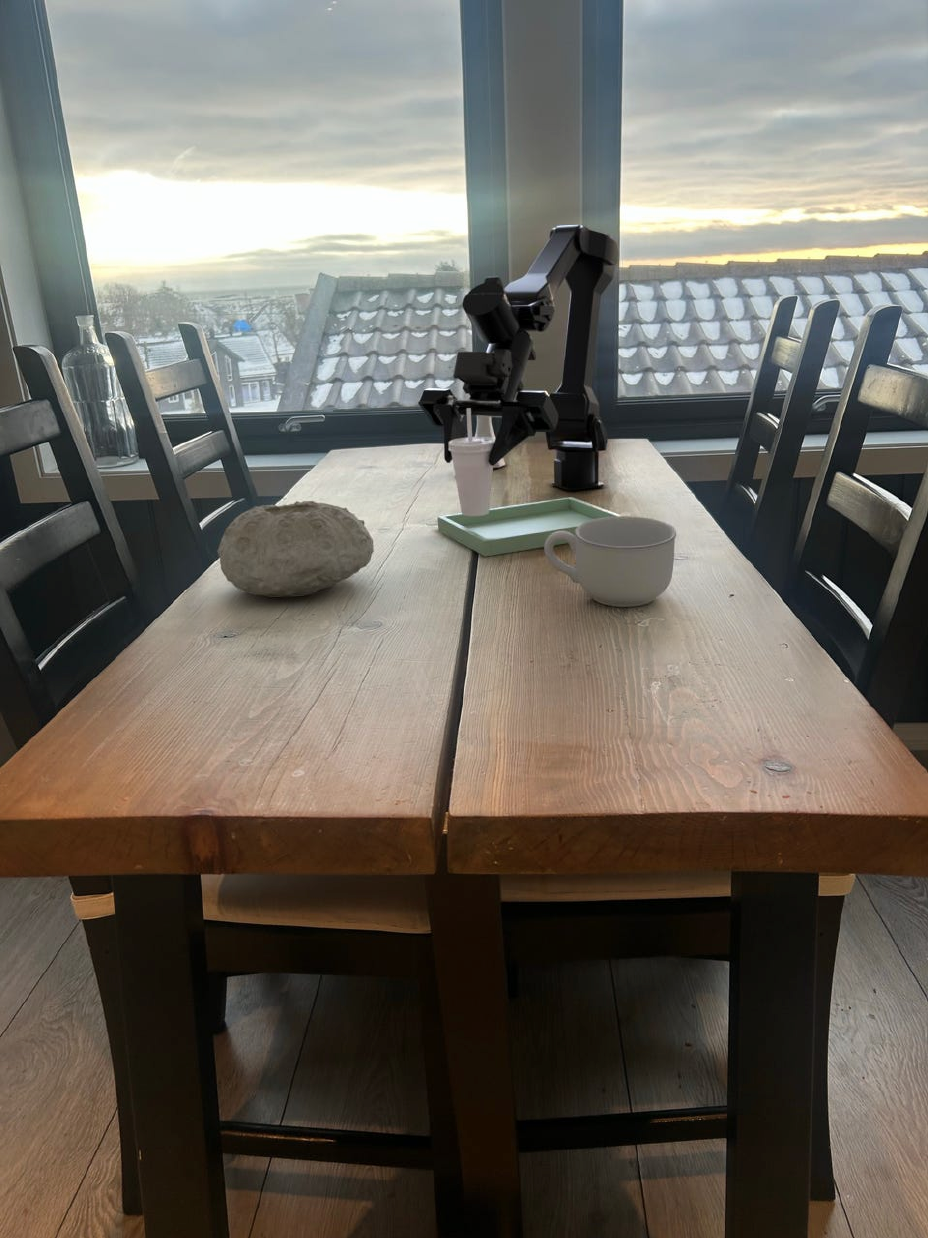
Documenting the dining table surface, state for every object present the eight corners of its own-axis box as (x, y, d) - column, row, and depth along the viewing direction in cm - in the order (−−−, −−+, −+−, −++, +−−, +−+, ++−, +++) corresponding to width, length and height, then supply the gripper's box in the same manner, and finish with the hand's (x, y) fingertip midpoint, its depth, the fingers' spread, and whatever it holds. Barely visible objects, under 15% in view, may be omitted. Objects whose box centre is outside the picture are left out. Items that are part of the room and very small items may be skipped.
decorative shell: (259, 564, 128) (251, 487, 125) (393, 567, 125) (388, 488, 121) (197, 610, 112) (185, 522, 109) (348, 614, 108) (341, 524, 105)
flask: (506, 461, 187) (505, 407, 184) (504, 469, 181) (502, 413, 177) (468, 462, 188) (466, 409, 185) (464, 470, 182) (462, 414, 178)
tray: (571, 510, 149) (571, 496, 148) (629, 533, 135) (629, 518, 135) (438, 530, 141) (437, 516, 140) (484, 556, 127) (484, 540, 127)
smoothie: (443, 516, 134) (437, 410, 129) (465, 505, 139) (460, 403, 134) (486, 520, 131) (481, 412, 126) (507, 508, 136) (503, 404, 131)
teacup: (680, 587, 113) (682, 517, 110) (666, 618, 103) (668, 543, 100) (560, 579, 117) (559, 512, 114) (535, 609, 107) (534, 537, 105)
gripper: (420, 327, 134) (381, 423, 129) (547, 325, 125) (511, 429, 120) (452, 379, 143) (417, 471, 138) (573, 381, 135) (540, 479, 129)
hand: (468, 462), depth 131 cm, fingers closed on smoothie, 6 cm apart
